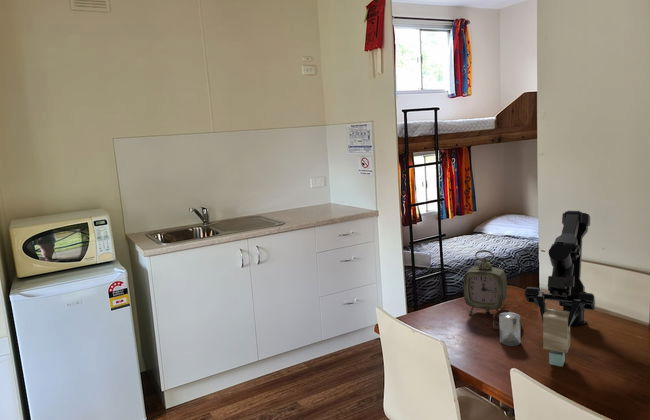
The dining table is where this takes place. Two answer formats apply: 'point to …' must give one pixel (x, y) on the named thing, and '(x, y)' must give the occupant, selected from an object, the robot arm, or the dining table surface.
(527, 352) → the dining table surface
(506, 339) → the grey tin
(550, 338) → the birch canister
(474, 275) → the tabletop clock
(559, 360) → the letter block
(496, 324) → the pottery mug
